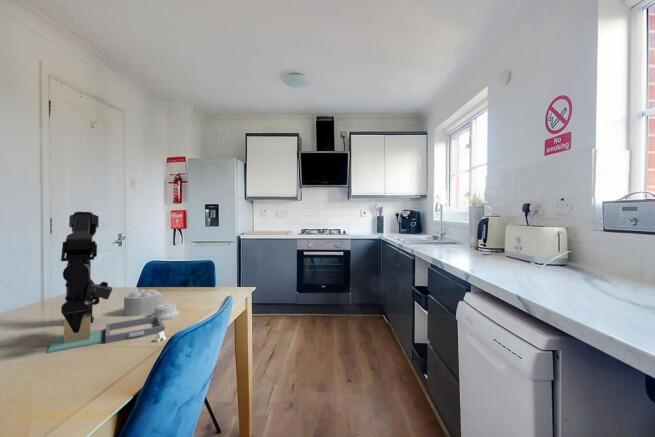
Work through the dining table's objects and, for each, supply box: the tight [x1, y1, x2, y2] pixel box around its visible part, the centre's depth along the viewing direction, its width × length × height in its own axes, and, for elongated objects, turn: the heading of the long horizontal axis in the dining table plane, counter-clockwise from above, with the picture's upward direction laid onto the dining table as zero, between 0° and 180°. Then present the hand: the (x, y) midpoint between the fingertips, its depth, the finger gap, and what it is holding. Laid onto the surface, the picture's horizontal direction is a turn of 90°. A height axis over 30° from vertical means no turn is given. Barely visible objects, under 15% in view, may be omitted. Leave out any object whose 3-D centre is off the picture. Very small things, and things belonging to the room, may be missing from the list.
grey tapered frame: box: [104, 316, 166, 344], centre depth 101 cm, size 15×16×2 cm
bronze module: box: [63, 313, 92, 344], centre depth 92 cm, size 4×6×8 cm
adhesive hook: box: [153, 331, 166, 343], centre depth 93 cm, size 3×3×3 cm
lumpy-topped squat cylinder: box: [123, 288, 163, 317], centre depth 123 cm, size 10×13×9 cm
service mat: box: [47, 329, 103, 354], centre depth 92 cm, size 12×12×1 cm
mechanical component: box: [150, 302, 180, 321], centre depth 117 cm, size 10×4×10 cm
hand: (77, 328), depth 92 cm, fingers open, 9 cm apart
